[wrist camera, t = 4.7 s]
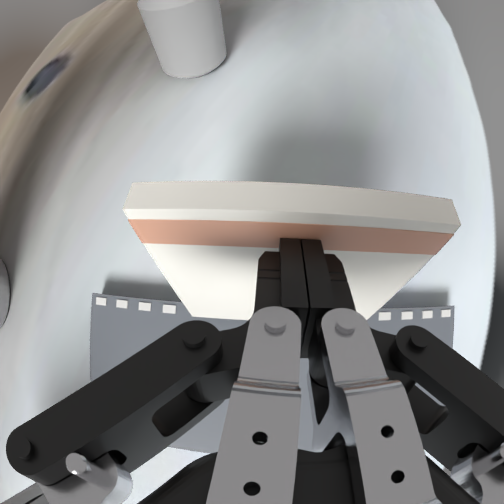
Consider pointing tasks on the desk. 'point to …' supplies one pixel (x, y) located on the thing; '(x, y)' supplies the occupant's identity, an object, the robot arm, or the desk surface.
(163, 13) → the can
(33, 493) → the glass holder
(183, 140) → the desk surface
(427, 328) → the board
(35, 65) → the desk surface
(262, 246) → the white square panel
